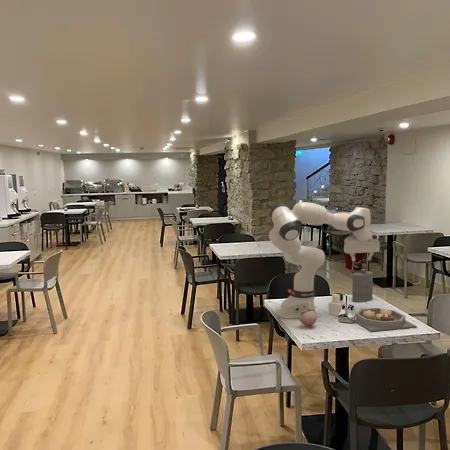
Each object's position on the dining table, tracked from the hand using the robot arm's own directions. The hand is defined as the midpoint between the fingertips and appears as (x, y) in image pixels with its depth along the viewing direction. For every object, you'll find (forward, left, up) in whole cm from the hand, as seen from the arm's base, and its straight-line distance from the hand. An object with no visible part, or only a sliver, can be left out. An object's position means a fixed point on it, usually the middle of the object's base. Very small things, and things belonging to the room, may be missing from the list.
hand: (361, 260), depth 251 cm
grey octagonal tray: (+4, -14, -31) cm, 34 cm away
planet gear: (+5, -20, -30) cm, 36 cm away
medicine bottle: (-12, +4, -31) cm, 34 cm away
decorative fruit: (-36, -12, -31) cm, 49 cm away
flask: (+16, +26, -31) cm, 44 cm away
